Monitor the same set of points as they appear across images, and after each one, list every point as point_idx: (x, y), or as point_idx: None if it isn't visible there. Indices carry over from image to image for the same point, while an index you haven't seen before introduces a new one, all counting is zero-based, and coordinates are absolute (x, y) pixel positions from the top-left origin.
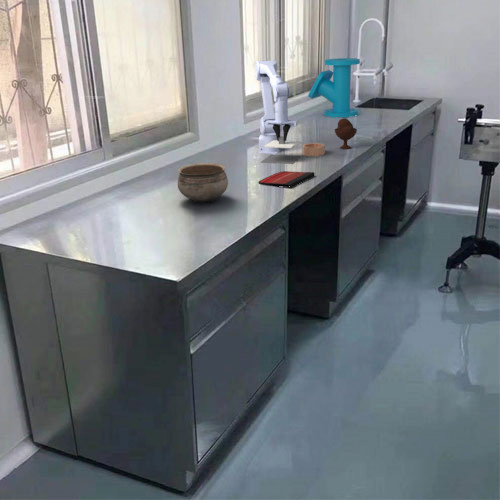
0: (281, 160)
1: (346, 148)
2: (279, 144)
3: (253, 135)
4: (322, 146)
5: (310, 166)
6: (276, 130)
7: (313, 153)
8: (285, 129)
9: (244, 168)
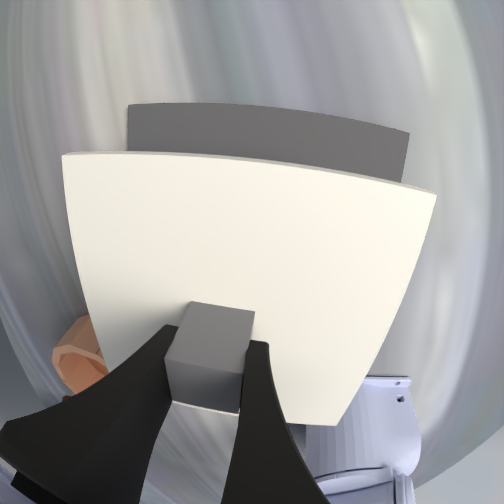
0: None
1: (66, 397)
2: (238, 284)
3: None
4: (55, 363)
5: (43, 107)
6: (255, 473)
7: (86, 324)
8: (48, 430)
9: (468, 7)
